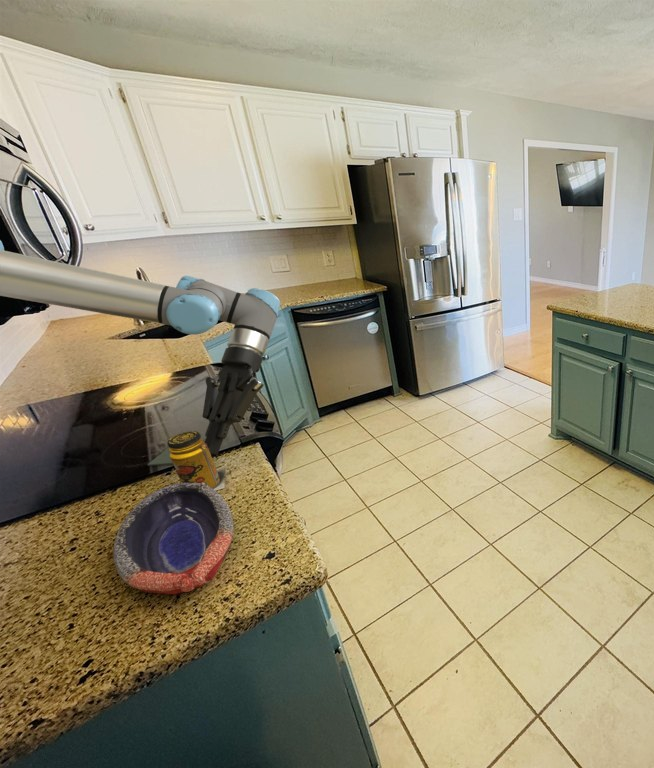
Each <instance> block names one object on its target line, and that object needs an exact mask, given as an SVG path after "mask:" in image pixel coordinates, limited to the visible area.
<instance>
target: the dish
mask: <svg viewBox="0 0 654 768" xmlns="http://www.w3.org/2000/svg"><path fill="white" fill-rule="evenodd" d="M234 531H235V525H234V518H233V514H232V512H231V508H230V506H229V504H228V502H227V501H226V500H225V499H224V497H223V496H222V495H221V494H220V493H219V492H218V491H217V490H216V491H215V490H213V489H212V488H211V487H209V486H208V485H206V484H205V483H181V482H179V483H173V484H170V485H167V486H164V487H161V488H159V489H157V490H155V491H154V492H151V494H149V495H147V496H146V497H145V498H143V499H142V500H140V501H139V502H138V503H137V504H136V505H135V506H134V507H133V508H132V509H131V510H130V511H129V512H128V514H127V515H126V517H125V518H123V521H122V523H121V524H120V526H119V528H118V531H117V533H116V535H115V539H114V542H113V549H112V552H113V554H112V555H113V562H114V567H115V569H116V572H117V574H118V575H119V577H120V578H121V579H122V581H123V582H124V583H126V584H127V585H128V586H130V587H132V588H134V589H136V590H139V591H142V592H145V593H151V594H165V595H176V594H178V595H179V594H181V593H188V592H190V591H193V590H194V589H197V588H200V587H202V586H205V585H207V584H208V583H209V582H211V581H212V580H213V579H214V578H215V577H216V575H217V573H218V571H219V569H220V567H221V566H222V564H223V562H224V560H225V558H226V557H227V555H228V553H229V551H230V549H231V545H232V542H233V536H234Z"/></svg>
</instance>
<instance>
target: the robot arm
mask: <svg viewBox="0 0 654 768" xmlns="http://www.w3.org/2000/svg"><path fill="white" fill-rule="evenodd" d="M0 297H5V298H6V297H7V298H12V299H19V300H23V301H28V302H29V301H30V302H36V303H41V304H47V305H53V306H58V307H63V308H70V309H74V310H81V311H86V312H92V313H99V314H104V315H110V316H115V317H122V318H125V319H126V318H127V319H132V320H137V321H144V322H148V323H149V322H150V323H156V324H162V325H167V326H171V327H172V328H174V329H175V330H177V331H178V332H181V333H182V334H186V335H201V334H204V333H207V332H208V331H210V330H211V329H213V328H215V326H216V325H217V324H218V321H221V322H225V323H227V324H232V325H234V326H233V329H232V331H231V333H230V336H229V339H228V341H227V343H226V346H227V347H226V348H225V350H224V352H223V355H222V358H221V360H220V361H221V365H222V366H221V369H220V370H219V371H218V372H217V375H215V376H214V377H210V376H207V377H206V378H205V385H206V391H205V397H204V403H203V410H202V418H203V419H205V420H208V425H207V427H206V431H205V434H204V437H205V442H204V443H206V444H207V446H208V449H209V451H210V454H211V455H219V453H220V449H221V446H222V443H223V442H224V441H223V440H225V439H226V438H227V436H228V433H229V430H230V428H231V425H233V424H234V423H241V421H242V420H243V418H244V417H245V415H246V413H247V411H248V410H249V408H250V406H251V404H252V402H253V401H254V399H255V397H256V396H257V394H258V392H259V391H261V389H262V388H263V387H264V383H263V382H261V381H260V380H258V379H257V373H259V371H260V369H261V366H262V364H263V360H264V359H263V357H264V356H265V355H266V354H265V353H266V350H267V348H268V345H269V342H270V339H271V336H272V334H273V330H274V328H275V325H276V322H277V320H278V317H279V312H280V308H281V301H280V299H279V298H278V296H277V295H275V294H274V293H272V292H270V291H268V290H265V289H259V288H255V287H254V288H250V289H247V292H246V293H241V292H238V291H235V290H232V289H229V288H227V287H225V286H221V285H219V284H215V283H213V282H209V281H207V280H205V279H203V278H197V277H194V276H191V275H183V276H181V277H180V279H179V280H178V282H177V284H176V287H175V286H170V285H167V284H161V283H158V282H152V281H147V280H143V279H138V278H133V277H128V276H125V275H119V274H116V273H115V274H114V273H110V272H105V271H102V270H101V271H100V270H97V269H93V268H92V269H91V268H87V267H82V266H77V265H73V264H69V263H64V262H59V261H55V260H50V259H45V258H41V257H36V256H31V255H26V254H22V253H18V252H12V251H8V250H5V247H4V245H3V242H2V240H0Z"/></svg>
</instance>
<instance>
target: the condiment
mask: <svg viewBox="0 0 654 768" xmlns="http://www.w3.org/2000/svg"><path fill="white" fill-rule="evenodd" d="M167 447H169V450H170V452H171V454H170V458H171V460H172V462H173V464H172V465H173V467H174V469H175V472H176V475H177V476H178V479H179V480H180V481H179V482H180V483H205V484H206V485H208V486H209V487H211V488H212V489H213V490H215V491H216V492H217V491H219V490H222V489H225V487H226V467H225V466H224V467H221V468H219V469H217V467H216V465H215V463H214V459H213V458H212V454H210V451H209V449H208V446H207V444H206V443H204V442H203V438H202V434H201V433H200V432H199V431H194V430H190V431H189V430H188V431H184V432H180V433H178V434H176V435H174V436H172V437H170V438H168V440H167Z"/></svg>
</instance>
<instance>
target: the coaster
mask: <svg viewBox="0 0 654 768" xmlns="http://www.w3.org/2000/svg"><path fill="white" fill-rule="evenodd" d="M205 439H206V438H205ZM205 439H203V438H202V440H203V442H205ZM170 454H171V452H170V450H169V446H167V448H166V449H164V450H163V451H161V453H160V454H159V455H157V456H156V457H155V458H153V459H152V460H151V461H150V462H149V463H147V467H153V466H166V465H173V462H172V460H171V458H170Z"/></svg>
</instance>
